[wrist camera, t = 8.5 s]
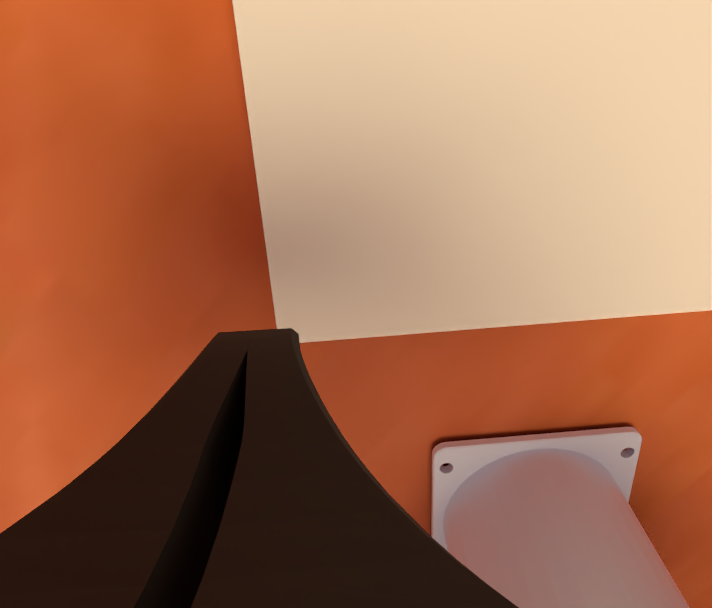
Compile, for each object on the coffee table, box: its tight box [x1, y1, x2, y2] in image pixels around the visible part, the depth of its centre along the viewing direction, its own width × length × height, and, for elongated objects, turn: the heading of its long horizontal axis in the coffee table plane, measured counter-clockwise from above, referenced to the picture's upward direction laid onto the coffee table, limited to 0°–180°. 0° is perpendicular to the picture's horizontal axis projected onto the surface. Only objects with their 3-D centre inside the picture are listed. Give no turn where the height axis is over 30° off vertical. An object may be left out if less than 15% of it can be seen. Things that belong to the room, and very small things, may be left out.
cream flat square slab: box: [232, 0, 712, 343], centre depth 16 cm, size 14×14×2 cm
